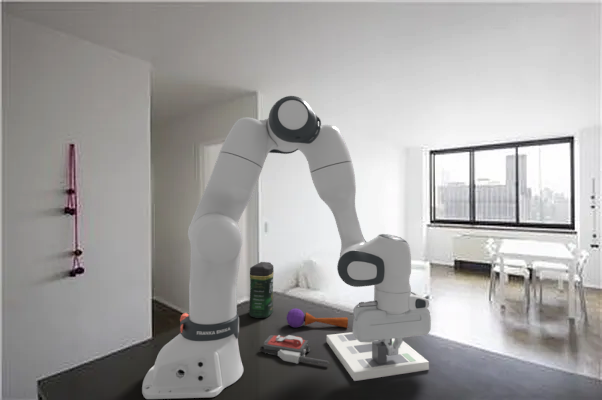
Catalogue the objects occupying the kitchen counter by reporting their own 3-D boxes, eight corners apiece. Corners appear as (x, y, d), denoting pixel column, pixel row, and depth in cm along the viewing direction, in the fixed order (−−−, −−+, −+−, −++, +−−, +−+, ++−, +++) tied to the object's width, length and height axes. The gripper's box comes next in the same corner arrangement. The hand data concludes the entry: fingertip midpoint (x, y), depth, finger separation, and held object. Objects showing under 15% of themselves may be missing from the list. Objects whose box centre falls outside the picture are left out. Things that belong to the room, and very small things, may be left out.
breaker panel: (354, 381, 73) (354, 372, 73) (326, 341, 92) (326, 334, 92) (428, 369, 78) (428, 361, 78) (387, 334, 97) (387, 328, 97)
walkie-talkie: (255, 357, 84) (328, 370, 78) (255, 341, 84) (328, 353, 78) (268, 343, 92) (335, 353, 86) (268, 328, 92) (335, 337, 86)
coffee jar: (268, 320, 108) (268, 266, 108) (246, 318, 110) (246, 265, 109) (276, 310, 117) (276, 260, 117) (256, 308, 119) (256, 259, 119)
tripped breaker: (377, 364, 76) (377, 347, 76) (372, 357, 79) (372, 341, 79) (386, 362, 77) (386, 345, 76) (380, 356, 79) (380, 340, 79)
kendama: (349, 319, 99) (286, 314, 100) (347, 336, 100) (285, 330, 101) (347, 309, 105) (288, 304, 105) (345, 325, 106) (286, 319, 107)
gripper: (359, 307, 73) (358, 366, 73) (435, 300, 78) (434, 355, 78) (348, 298, 79) (348, 352, 79) (419, 292, 84) (418, 344, 84)
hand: (391, 354), depth 78 cm, fingers closed
